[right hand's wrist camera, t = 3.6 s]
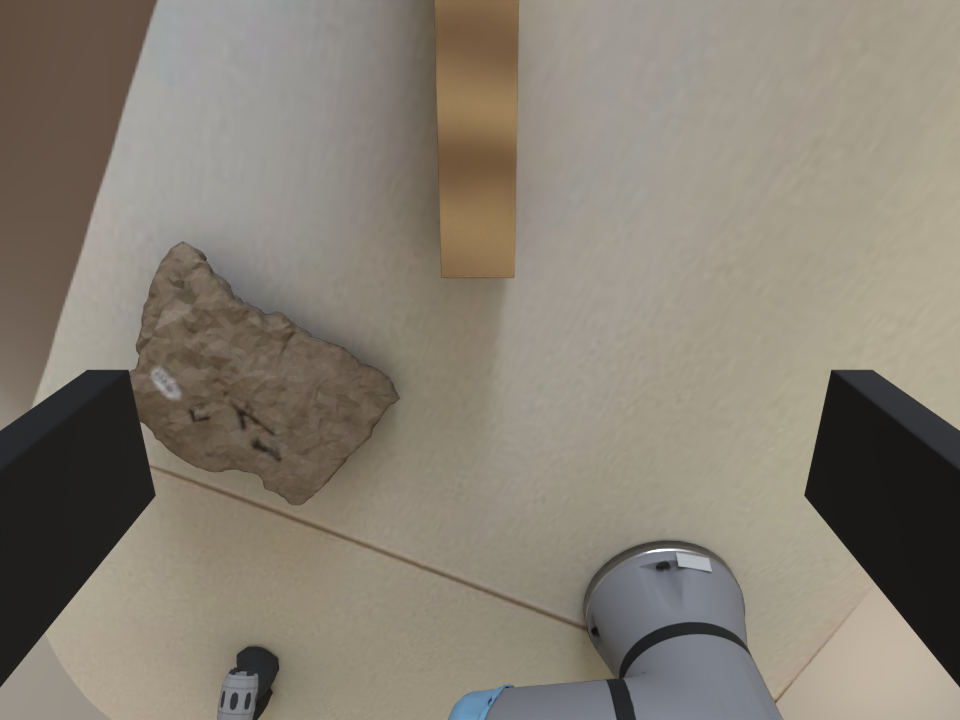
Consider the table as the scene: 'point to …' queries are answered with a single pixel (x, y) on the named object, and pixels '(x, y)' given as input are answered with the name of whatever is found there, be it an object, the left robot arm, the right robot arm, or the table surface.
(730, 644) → the right robot arm
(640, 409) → the table surface
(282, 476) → the stone
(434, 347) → the table surface
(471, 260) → the bar
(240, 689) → the robot
